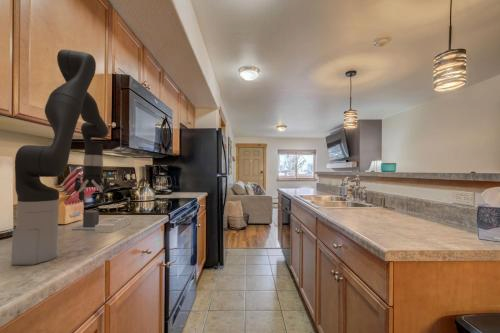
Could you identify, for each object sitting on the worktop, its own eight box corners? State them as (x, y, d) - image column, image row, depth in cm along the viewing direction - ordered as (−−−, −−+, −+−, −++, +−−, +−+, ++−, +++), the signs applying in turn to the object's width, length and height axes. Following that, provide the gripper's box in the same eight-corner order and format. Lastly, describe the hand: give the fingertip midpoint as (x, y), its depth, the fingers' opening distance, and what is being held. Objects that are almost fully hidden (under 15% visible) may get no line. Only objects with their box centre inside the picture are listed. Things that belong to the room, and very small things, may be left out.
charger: (93, 227, 109) (93, 211, 109) (82, 227, 108) (83, 211, 109) (98, 225, 113) (99, 210, 113) (88, 225, 113) (89, 210, 113)
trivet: (95, 230, 106) (95, 228, 106) (72, 230, 105) (72, 228, 106) (107, 225, 116) (107, 224, 116) (86, 225, 115) (86, 223, 115)
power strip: (112, 232, 103) (112, 223, 103) (94, 232, 102) (95, 222, 102) (130, 223, 121) (131, 215, 121) (116, 223, 120) (116, 215, 120)
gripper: (71, 164, 108) (69, 201, 107) (104, 165, 108) (103, 201, 108) (82, 165, 115) (80, 199, 114) (113, 166, 116) (111, 199, 115)
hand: (91, 200), depth 111 cm, fingers open, 8 cm apart
